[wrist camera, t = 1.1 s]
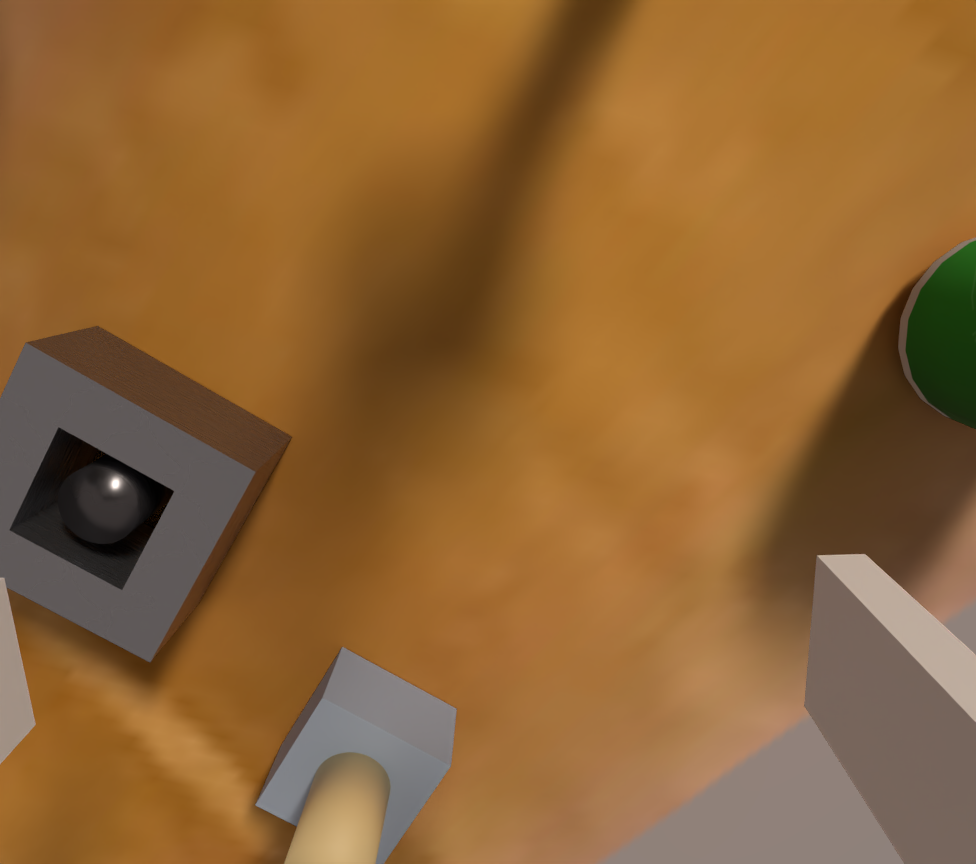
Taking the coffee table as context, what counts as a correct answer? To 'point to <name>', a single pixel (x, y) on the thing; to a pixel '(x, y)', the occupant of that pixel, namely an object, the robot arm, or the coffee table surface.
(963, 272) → the soda can
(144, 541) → the grey hollow block
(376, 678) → the blue-gray block
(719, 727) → the coffee table surface
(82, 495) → the ball
